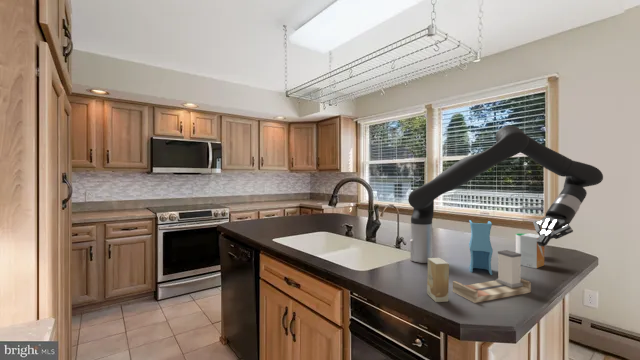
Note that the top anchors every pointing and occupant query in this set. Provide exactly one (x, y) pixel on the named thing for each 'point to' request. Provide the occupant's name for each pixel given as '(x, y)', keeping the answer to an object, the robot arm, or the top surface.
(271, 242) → the top surface
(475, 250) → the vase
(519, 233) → the mug
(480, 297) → the fader track
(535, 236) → the small box
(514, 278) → the fader knob
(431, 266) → the skincare box
